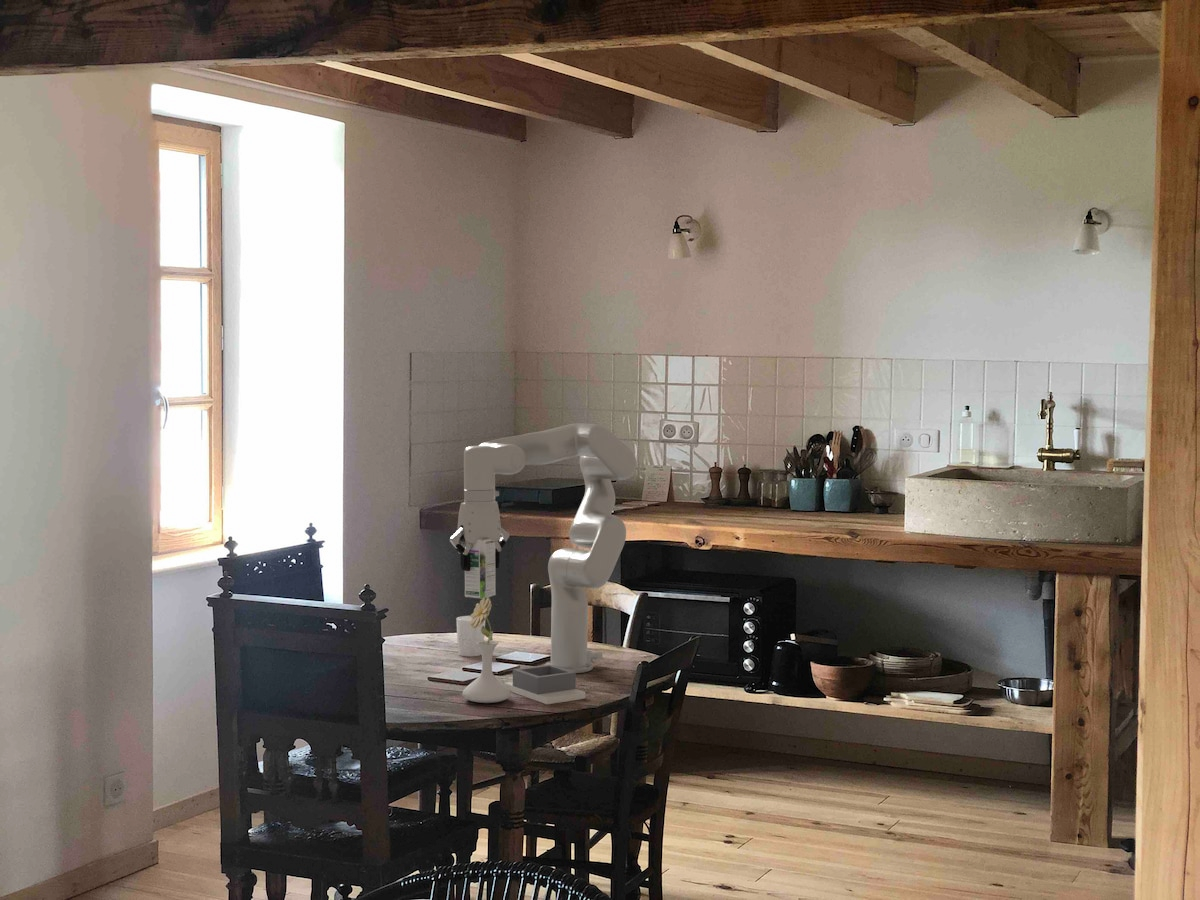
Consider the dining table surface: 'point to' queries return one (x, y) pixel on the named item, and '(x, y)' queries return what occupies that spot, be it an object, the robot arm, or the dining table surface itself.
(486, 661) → the flower in vase
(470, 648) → the white cup
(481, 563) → the syrup box
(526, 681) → the socket caddy
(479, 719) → the dining table surface
